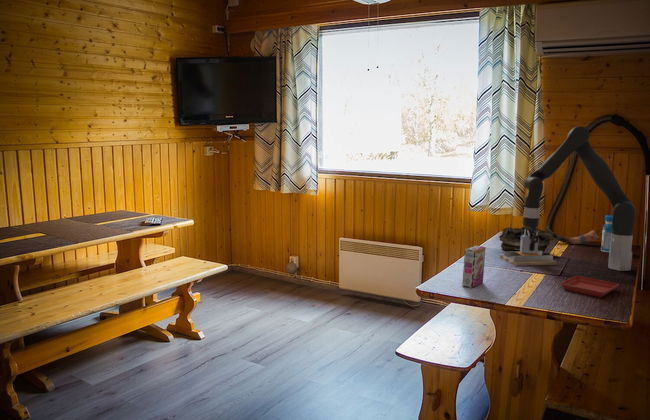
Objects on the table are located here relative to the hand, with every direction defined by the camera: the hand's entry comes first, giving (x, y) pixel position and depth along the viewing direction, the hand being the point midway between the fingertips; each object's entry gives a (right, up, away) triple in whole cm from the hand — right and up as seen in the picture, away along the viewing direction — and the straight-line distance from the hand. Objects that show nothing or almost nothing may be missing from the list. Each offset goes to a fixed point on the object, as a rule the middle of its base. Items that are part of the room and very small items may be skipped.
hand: (528, 249), depth 283 cm
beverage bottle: (+54, -3, +27) cm, 61 cm away
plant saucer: (+9, -15, -47) cm, 50 cm away
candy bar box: (-40, -13, -42) cm, 59 cm away
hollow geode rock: (+6, -3, +22) cm, 23 cm away
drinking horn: (+41, 0, +45) cm, 61 cm away
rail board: (0, -6, +1) cm, 6 cm away
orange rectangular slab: (0, -3, 0) cm, 3 cm away
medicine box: (0, -2, 0) cm, 2 cm away
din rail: (0, -5, +1) cm, 5 cm away
